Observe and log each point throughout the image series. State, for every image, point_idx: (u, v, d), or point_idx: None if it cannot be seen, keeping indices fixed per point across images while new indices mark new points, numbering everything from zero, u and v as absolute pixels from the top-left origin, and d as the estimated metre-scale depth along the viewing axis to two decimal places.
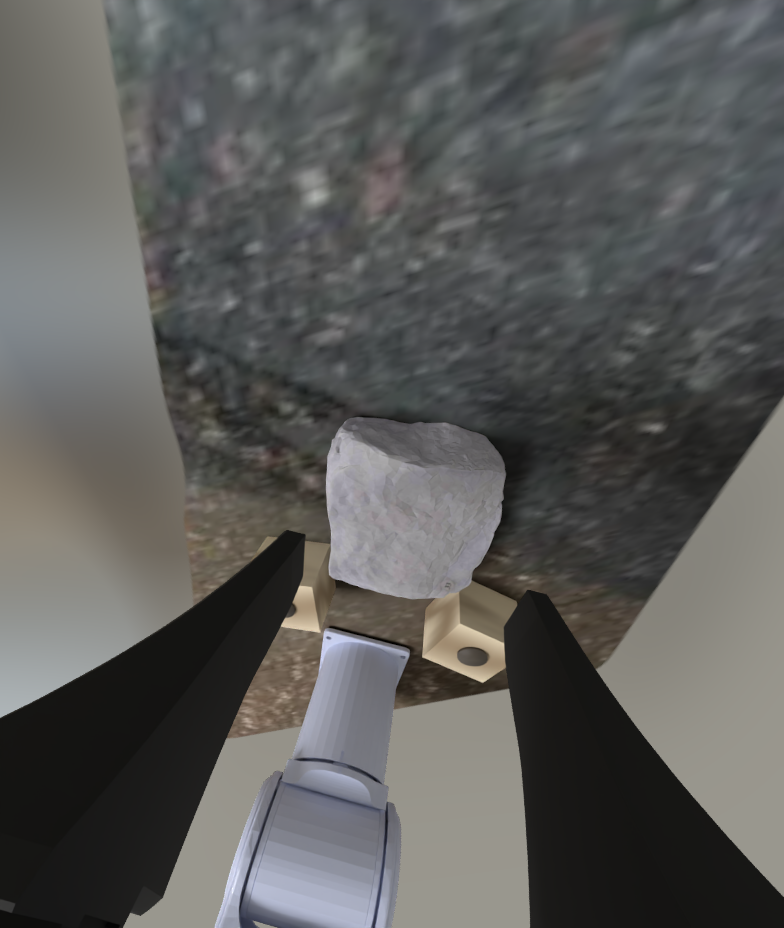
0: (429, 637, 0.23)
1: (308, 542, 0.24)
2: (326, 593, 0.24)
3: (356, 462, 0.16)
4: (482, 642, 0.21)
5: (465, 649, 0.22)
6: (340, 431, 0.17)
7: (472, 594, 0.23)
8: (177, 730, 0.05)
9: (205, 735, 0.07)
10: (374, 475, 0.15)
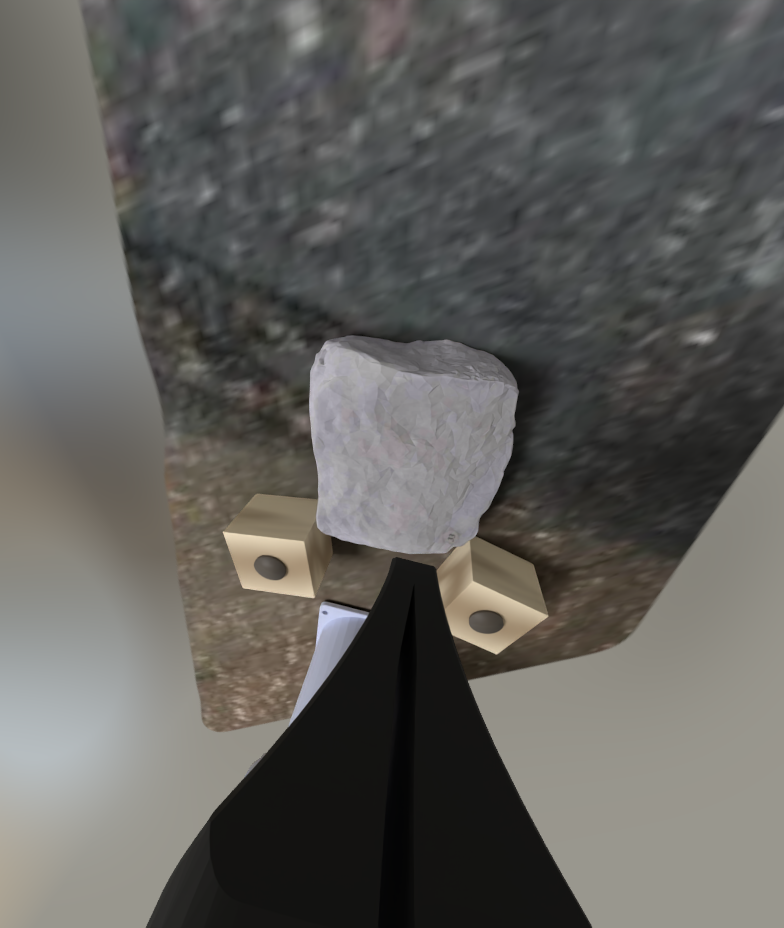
0: None
1: (301, 499, 0.22)
2: (321, 555, 0.22)
3: (343, 373, 0.13)
4: (497, 604, 0.19)
5: (478, 613, 0.19)
6: (325, 344, 0.14)
7: (485, 553, 0.20)
8: None
9: None
10: (364, 387, 0.13)
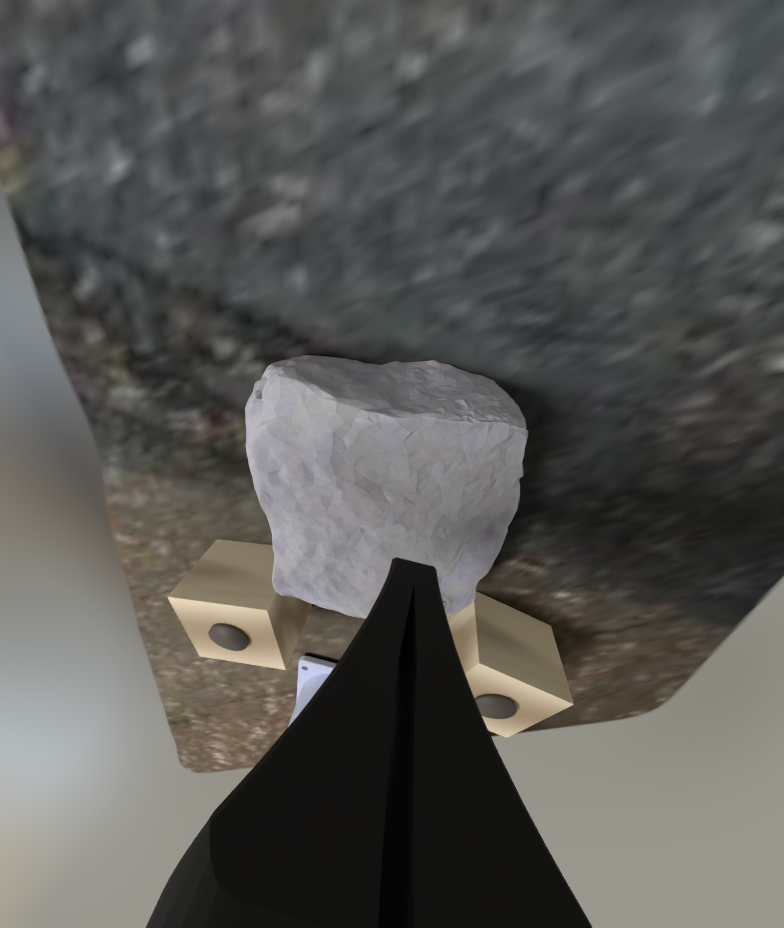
0: None
1: (270, 546, 0.18)
2: (295, 615, 0.18)
3: (286, 412, 0.10)
4: (509, 689, 0.15)
5: (485, 697, 0.15)
6: (267, 369, 0.11)
7: (493, 617, 0.17)
8: None
9: None
10: (315, 432, 0.09)
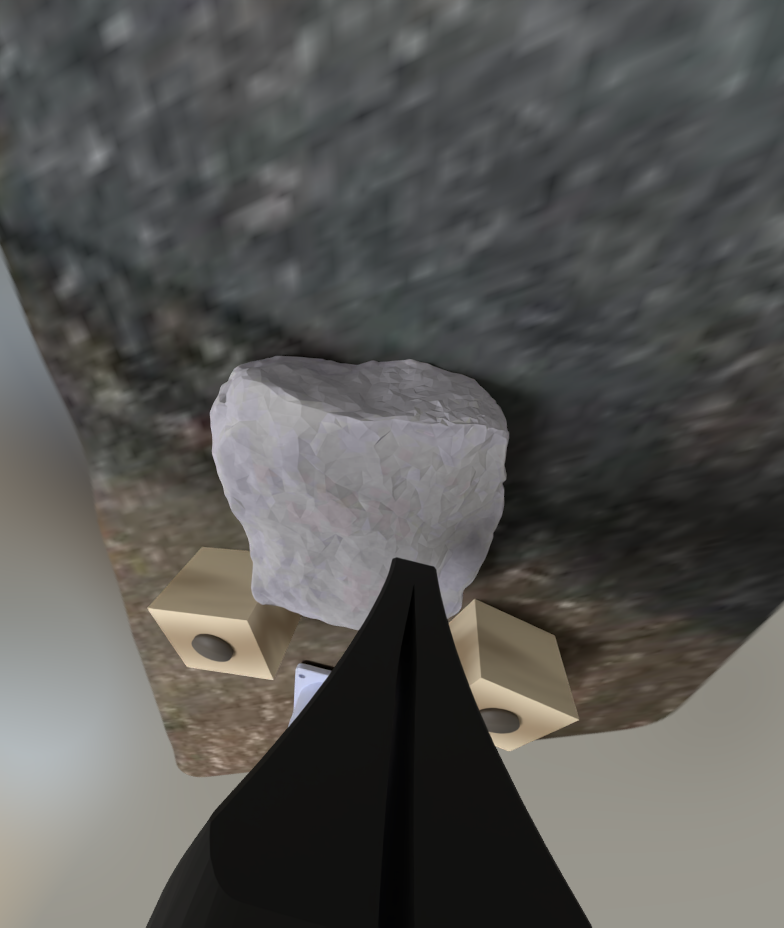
0: None
1: None
2: (282, 623, 0.17)
3: (250, 416, 0.09)
4: (512, 703, 0.14)
5: (487, 711, 0.15)
6: (234, 371, 0.10)
7: (496, 628, 0.16)
8: None
9: None
10: (280, 438, 0.09)
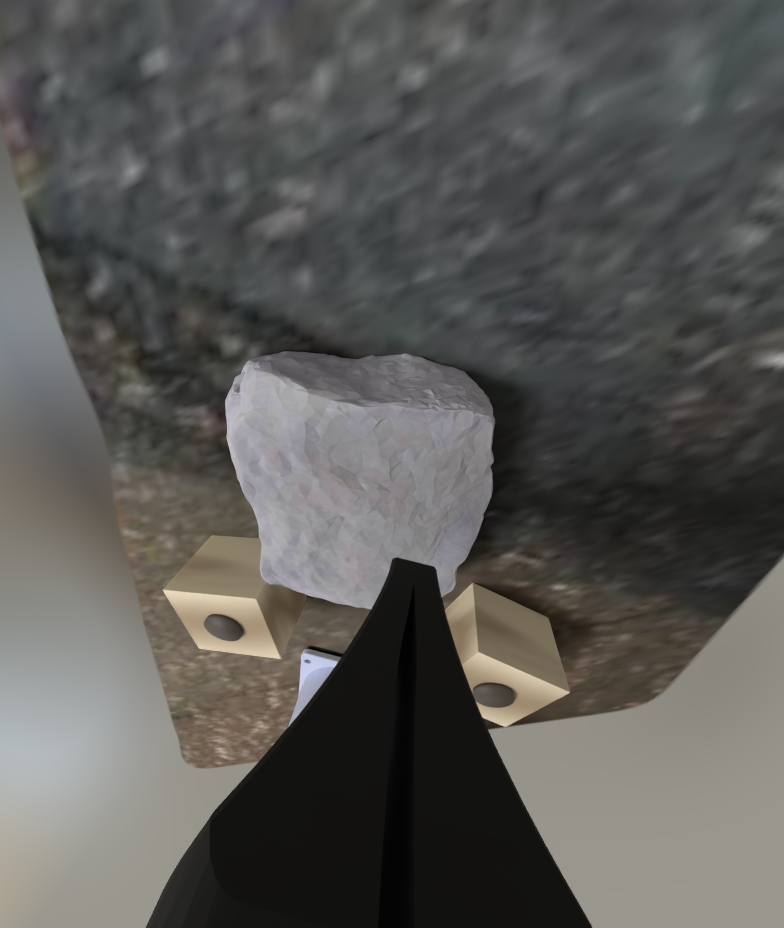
0: None
1: None
2: (288, 605, 0.18)
3: (262, 404, 0.10)
4: (508, 678, 0.15)
5: (484, 686, 0.16)
6: (246, 364, 0.11)
7: (492, 609, 0.17)
8: None
9: None
10: (288, 422, 0.10)
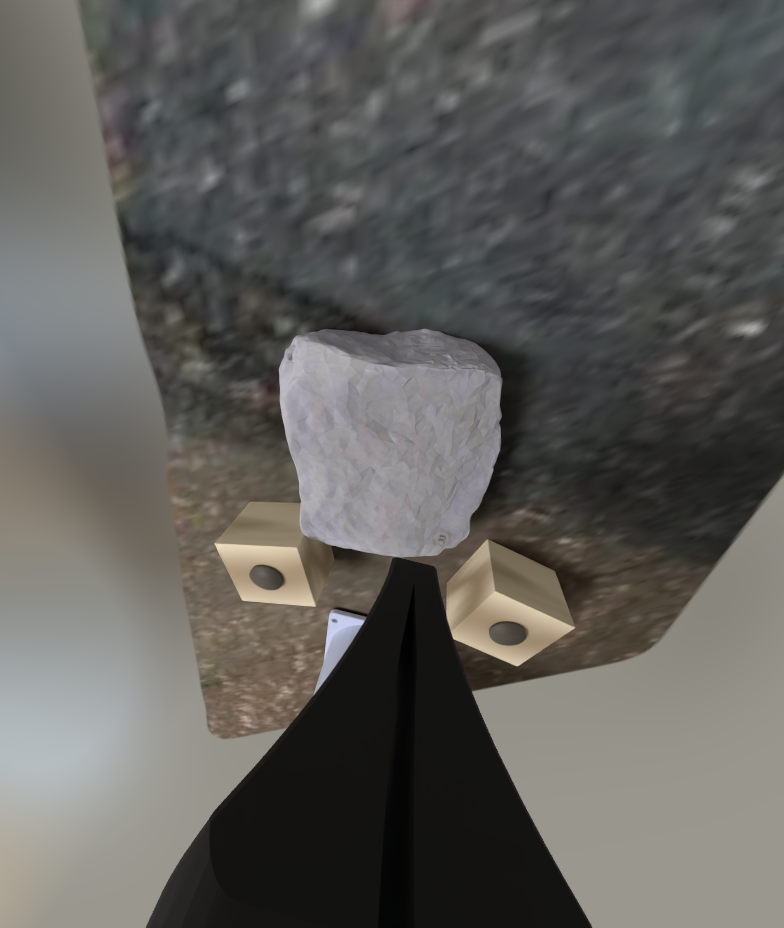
0: (454, 613, 0.20)
1: (295, 504, 0.21)
2: (320, 561, 0.21)
3: (312, 368, 0.12)
4: (520, 615, 0.18)
5: (499, 624, 0.18)
6: (294, 339, 0.13)
7: (505, 560, 0.19)
8: None
9: None
10: (335, 382, 0.12)
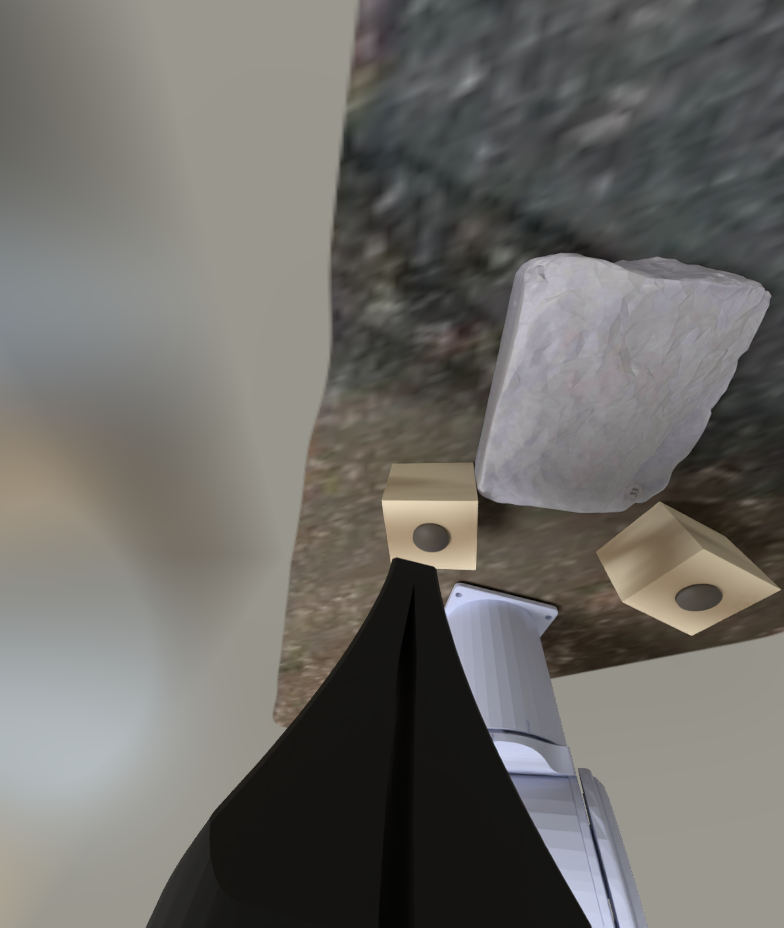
0: (628, 578, 0.19)
1: (445, 463, 0.20)
2: None
3: (576, 286, 0.11)
4: (721, 577, 0.17)
5: (694, 587, 0.17)
6: (535, 261, 0.12)
7: (687, 522, 0.18)
8: None
9: None
10: (605, 299, 0.11)
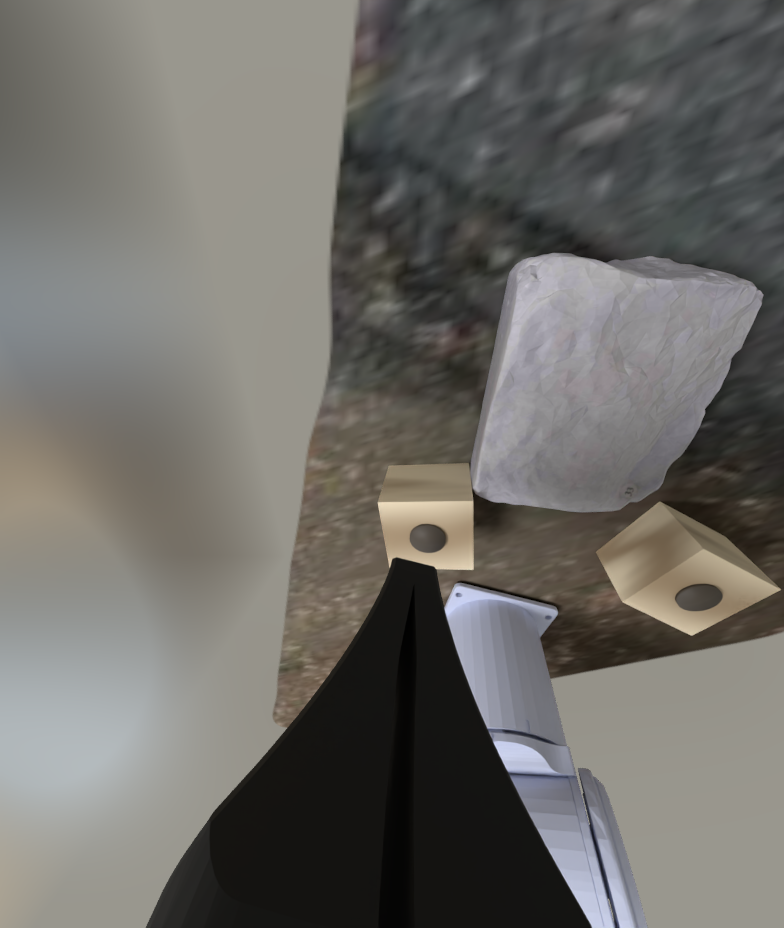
0: (628, 578, 0.19)
1: (441, 464, 0.20)
2: None
3: (568, 285, 0.11)
4: (721, 577, 0.17)
5: (694, 587, 0.17)
6: (527, 261, 0.12)
7: (687, 522, 0.18)
8: None
9: None
10: (597, 299, 0.11)
